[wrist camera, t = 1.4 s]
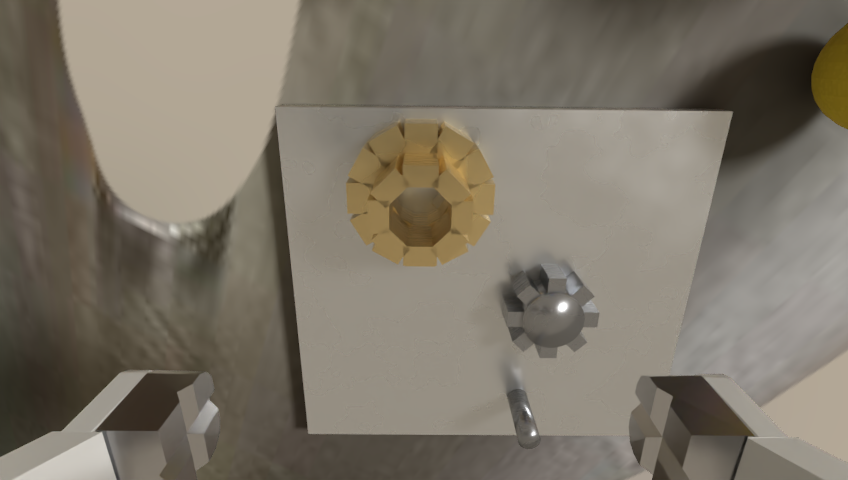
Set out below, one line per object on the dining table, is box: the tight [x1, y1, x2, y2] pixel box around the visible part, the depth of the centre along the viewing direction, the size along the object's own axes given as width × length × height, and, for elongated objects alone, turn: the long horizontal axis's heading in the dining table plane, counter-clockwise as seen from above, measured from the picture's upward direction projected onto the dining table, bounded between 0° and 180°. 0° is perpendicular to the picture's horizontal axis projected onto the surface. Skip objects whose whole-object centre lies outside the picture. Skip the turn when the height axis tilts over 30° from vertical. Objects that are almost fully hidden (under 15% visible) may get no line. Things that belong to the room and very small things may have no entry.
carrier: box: [275, 104, 733, 449], centre depth 25 cm, size 22×20×5 cm
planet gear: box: [346, 119, 495, 267], centre depth 22 cm, size 7×7×5 cm
